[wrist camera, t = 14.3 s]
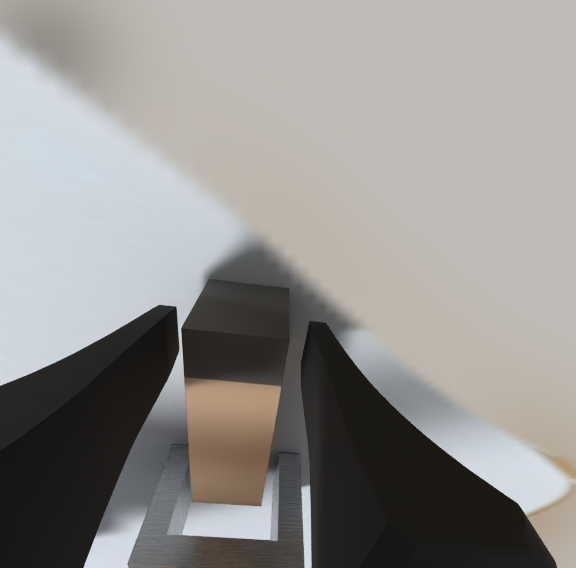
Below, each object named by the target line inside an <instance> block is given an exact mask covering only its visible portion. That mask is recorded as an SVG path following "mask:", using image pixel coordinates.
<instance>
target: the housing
mask: <svg viewBox="0 0 576 568" xmlns="http://www.w3.org/2000/svg"><path fill="white" fill-rule="evenodd" d="M191 499H192V494H191V478H190V462H189V446H188V445H175V444H173V445H172V448H171V450H170V453H169V455H168V458H167V461H166V463H165V466H164V469H163V471H162V474H161V477H160V479H159V482H158V484H157V487H156V490H155V492H154V495H153V498H152V500H151V503H150V506H149V508H148V511H147V513H146V516H145V519H144V521H143V524H142V527H141V529H140V532H139V535H138V537H137V540H136V542H135V545H134V548H133V550H132V553H131V556H130V558H129V561H128V567H129V568H304V545H303V519H302V494H301V469H300V454H291V453H280V454H279V459H278V464H277V469H276V474H275V479H274V485H273V493H272V516H271V539H270V540H255V539H238V538H220V537H203V536H185V535H182V532H183V528H184V525H185V521H186V517H187V514H188V510H189V506H190V502H191Z"/></svg>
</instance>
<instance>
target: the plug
mask: <svg viewBox="0 0 576 568" xmlns="http://www.w3.org/2000/svg"><path fill="white" fill-rule="evenodd" d="M181 331H182V348H183V364H184V380H185V396H186V413H187V429H188V445H189V462H190V478H191V494H192V502H202V503H217V504H233V505H249V506H261V503H262V498H263V492H264V486H265V480H266V474H267V468H268V462H269V457H270V451H271V445H272V439H273V433H274V427H275V421H276V415H277V410H278V404H279V398H280V392H281V386H282V380H283V374H284V368H285V363H286V357H287V351H288V345H289V288H280V287H272V286H263V285H254V284H246V283H237V282H228V281H220V280H211V279H209V280H208V282H207V284H206V285H205V287H204V289H203V291H202V292H201V294H200V296H199V298H198V300H197V301H196V303H195V305H194V307H193V308H192V310H191V312H190V314H189V315H188V317H187V319H186V321H185V323H184V324H183V326H182V328H181Z"/></svg>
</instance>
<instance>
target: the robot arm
mask: <svg viewBox="0 0 576 568" xmlns="http://www.w3.org/2000/svg"><path fill="white" fill-rule="evenodd" d="M178 352H179V338H178V323H177V309H176V307H174V306H164V305H158V306H157V307H155V308H153V309H151V310H149V311H148V312H146V313H144V314H143V315H141V316H139V317H138V318H136V319H134V320H133V321H131V322H130V323H128V324H126V325H124V326H123V327H121V328H119V329H118V330H116V331H114V332H113V333H111V334H109V335H107V336H106V337H104V338H102V339H100V340H98V341H96V342H94V343H93V344H91V345H89V346H87V347H85V348H83V349H82V350H80V351H78V352H76V353H74V354H72V355H70V356H68V357H66V358H64V359H62V360H60V361H58V362H56V363H53V364H51V365H49V366H47V367H45V368H42V369H40V370H38V371H36V372H33V373H31V374H29V375H26V376H24V377H22V378H19V379H17V380H14V381H12V382H9V383H6V384H4V385H1V386H0V568H83V567H84V564H85V562H86V559H87V556H88V554H89V551H90V549H91V546H92V543H93V541H94V538H95V536H96V533H97V530H98V528H99V525H100V522H101V520H102V517H103V515H104V512H105V510H106V507H107V505H108V502H109V500H110V497H111V495H112V493H113V490H114V488H115V485H116V483H117V480H118V478H119V475H120V473H121V471H122V468H123V466H124V464H125V461H126V459H127V457H128V454H129V452H130V450H131V447H132V445H133V443H134V441H135V439H136V437H137V435H138V433H139V431H140V429H141V428H142V426H143V424H144V422H145V420H146V418H147V417H148V415H149V413H150V411H151V409H152V407H153V405H154V404H155V402H156V400H157V398H158V396H159V394H160V393H161V391H162V389H163V387H164V385H165V383H166V381H167V379H168V377H169V375H170V373H171V371H172V368H173V366H174V363H175V360H176V358H177V355H178ZM301 389H302V398H303V407H304V415H305V423H306V431H307V440H308V448H309V461H310V492H311V551H312V568H557V566H556V562H555V561H554V559H553V557H552V556H551V554H550V553H549V551H548V549H547V548H546V546H545V545H544V543H543V542H542V540H541V538H540V537H539V535H538V534H537V532H536V531H535V529H534V528H533V526H532V524H531V523H530V521H529V520H528V518H527V516H526V515H525V513H524V512H523V510H522V509H521V508H520V506H519V505H518V504H517V503H516V502H515V501H513V500H512V499H510V498H509V497H507V496H506V495H504V494H503V493H502V492H500V491H499V490H497V489H496V488H494V487H493V486H492V485H490V484H489V483H487V482H486V481H484V480H483V479H481V478H480V477H479V476H477V475H476V474H474V473H473V472H471V471H470V470H469V469H467V468H466V467H465V466H463V465H462V464H461V463H459V462H458V461H457V460H455V459H454V458H453V457H452V456H450V455H449V454H448V453H446V452H445V451H444V450H442V449H441V448H440V447H439V446H437V445H436V444H435V443H434V442H433V441H431V440H430V439H429V438H428V437H426V436H425V435H424V434H423V433H422V432H421V431H419V430H418V429H417V428H416V427H415V426H414V425H413V424H411V423H410V422H409V421H408V420H407V419H406V418H405V417H404V416H403V415H401V414H400V413H399V412H398V411H397V410H396V409H395V408H394V407H393V406H392V405H391V404H390V403H389V402H388V401H387V400H386V399H385V398H384V397H383V396H382V395H381V394H380V393H379V392H378V391H377V390H376V389H375V387H374V386H373V385H372V384H371V383H370V382H369V381H368V380H367V378H366V377H365V376H364V375H363V374H362V373H361V371H360V370H359V369H358V368H357V366H356V365H355V364H354V362H353V361H352V360H351V358H350V357H349V356H348V354H347V353H346V352H345V350H344V349H343V348H342V346H341V345H340V343H339V342H338V340H337V339H336V337H335V336H334V334H333V333H332V331H331V330H330V329H329V327H328V326H327V324H326V323H322V322H312V321H309V326H308V331H307V336H306V341H305V346H304V351H303V355H302V360H301Z"/></svg>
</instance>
